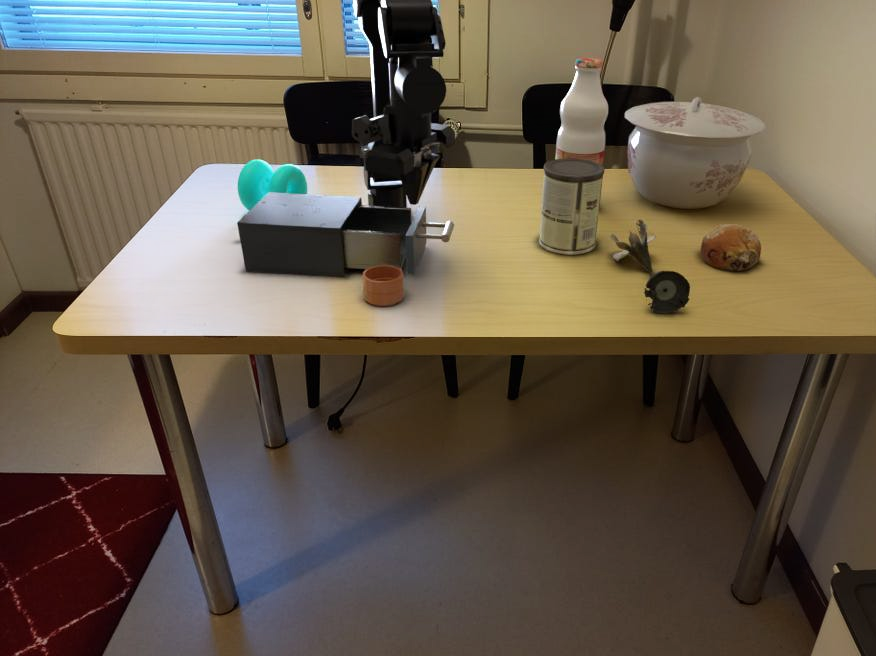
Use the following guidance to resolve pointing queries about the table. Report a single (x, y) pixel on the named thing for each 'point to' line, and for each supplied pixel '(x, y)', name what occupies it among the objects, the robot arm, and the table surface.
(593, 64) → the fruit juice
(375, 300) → the flower pot
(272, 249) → the black drawer cabinet
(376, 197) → the robot arm
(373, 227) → the drawer
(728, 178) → the chamber pot
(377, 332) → the table surface
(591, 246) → the coffee can
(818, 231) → the table surface
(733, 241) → the bread roll
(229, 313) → the table surface
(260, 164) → the donuts
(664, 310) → the artificial flower
